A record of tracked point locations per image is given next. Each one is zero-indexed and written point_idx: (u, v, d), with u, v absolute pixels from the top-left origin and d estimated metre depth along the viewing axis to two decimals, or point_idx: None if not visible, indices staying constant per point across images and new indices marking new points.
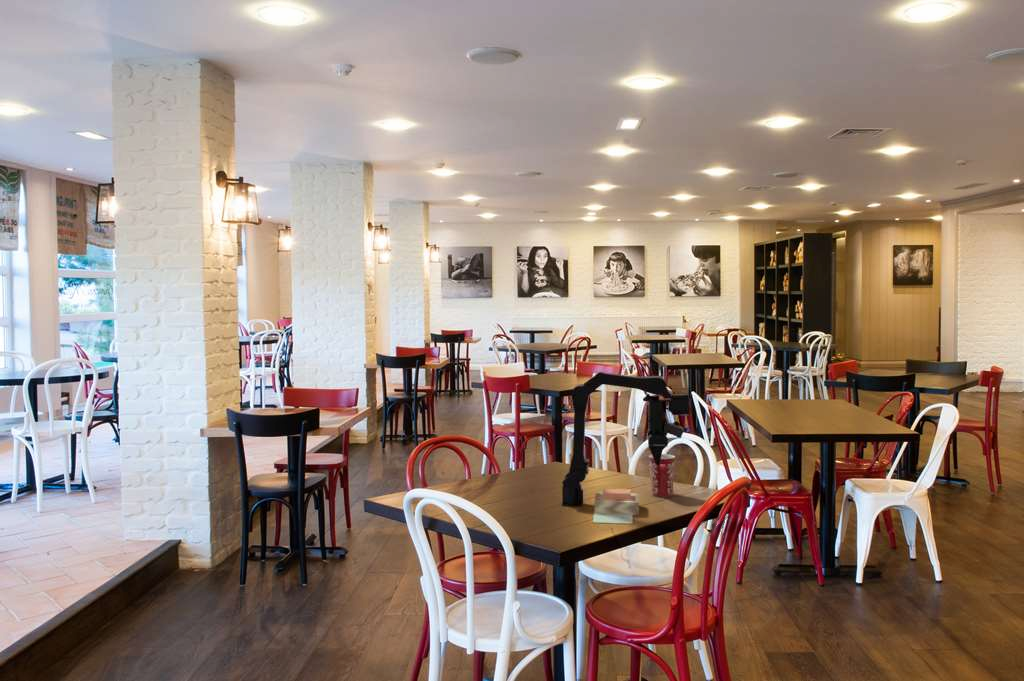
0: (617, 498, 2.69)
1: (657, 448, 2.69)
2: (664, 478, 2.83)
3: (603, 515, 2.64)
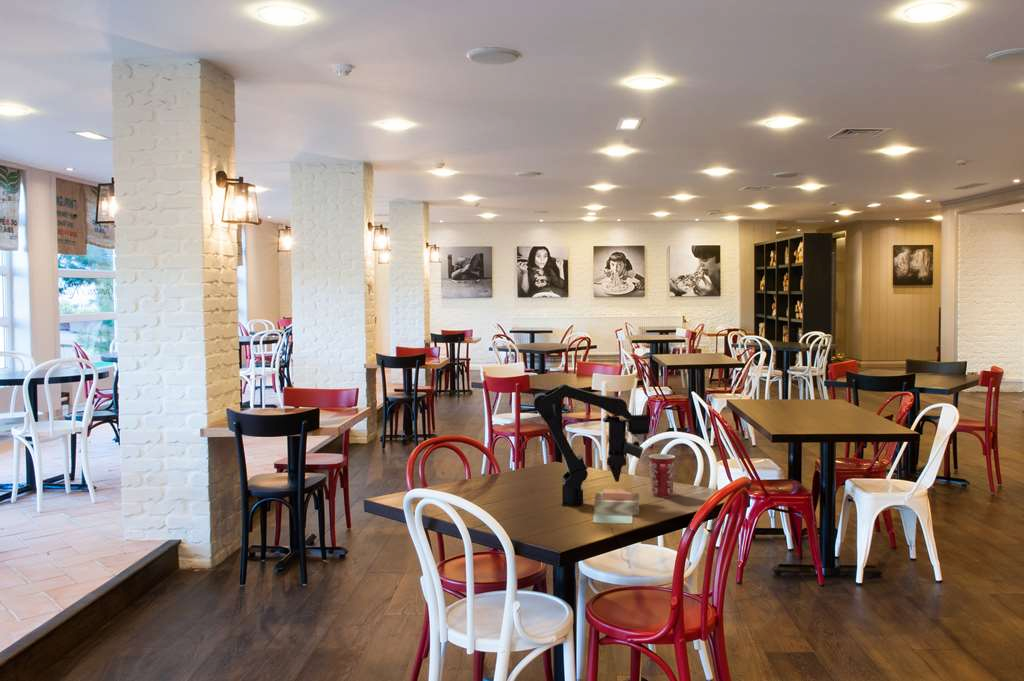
0: (617, 498, 2.69)
1: (616, 465, 2.79)
2: (664, 478, 2.83)
3: (603, 515, 2.64)
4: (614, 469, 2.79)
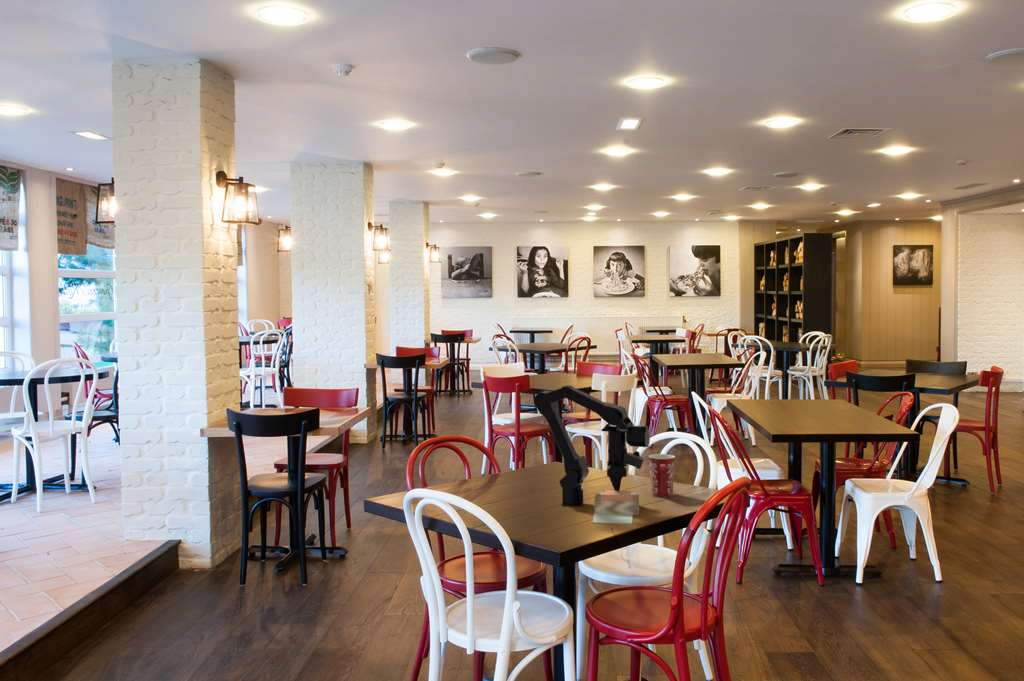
0: (617, 500, 2.67)
1: (616, 476, 2.72)
2: (664, 478, 2.83)
3: (603, 515, 2.64)
4: (614, 480, 2.72)
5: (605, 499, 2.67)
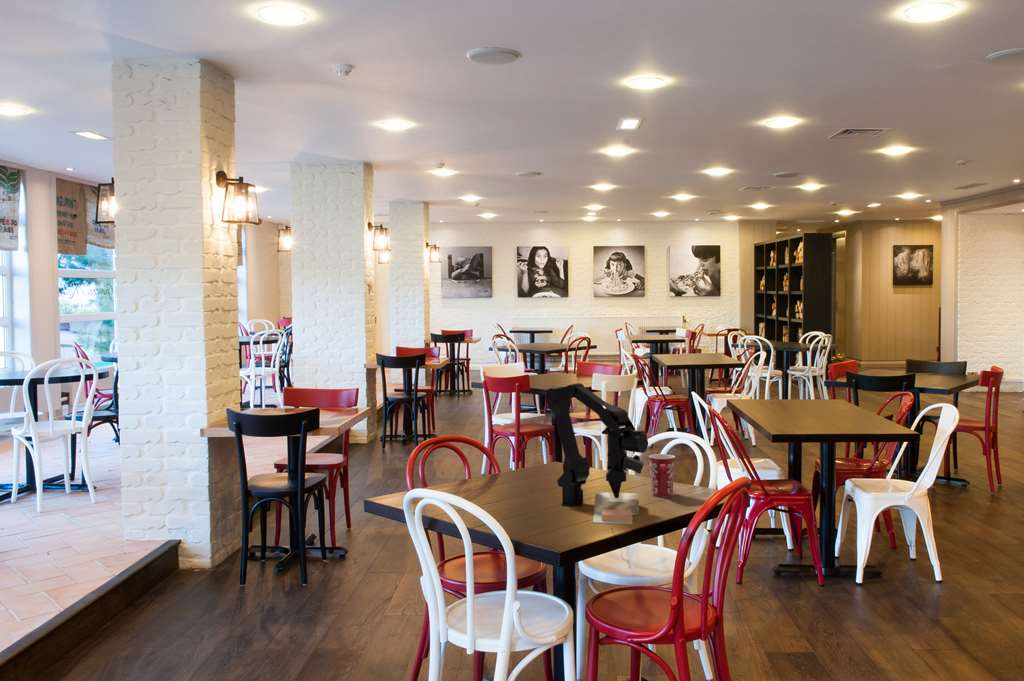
0: None
1: (616, 481, 2.65)
2: (664, 478, 2.83)
3: None
4: (613, 485, 2.65)
5: None
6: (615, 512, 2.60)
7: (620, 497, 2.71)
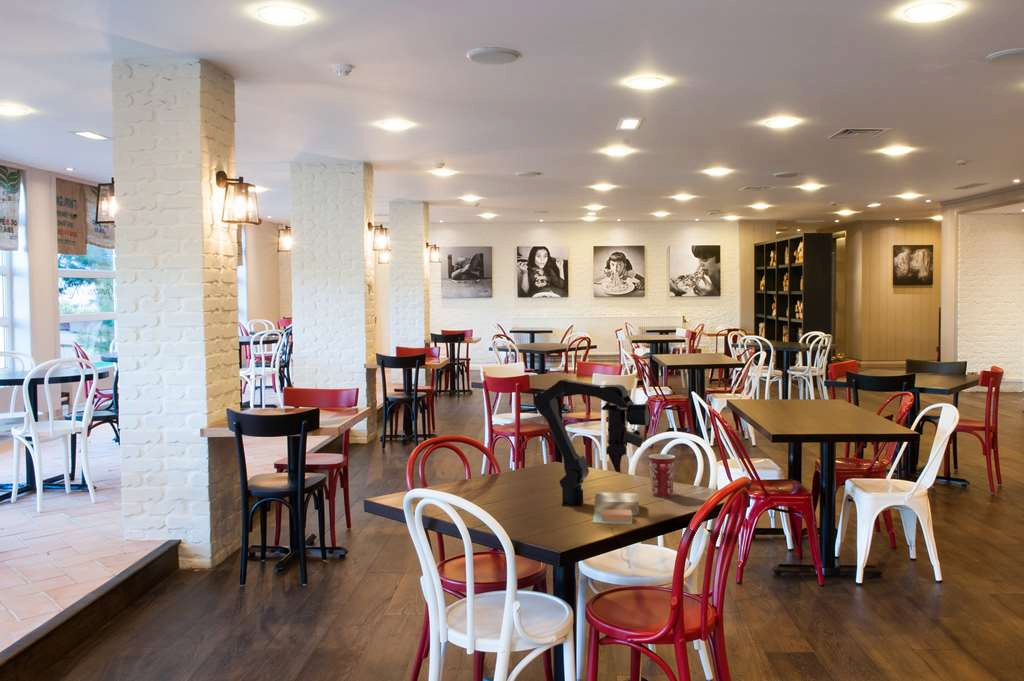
0: None
1: (616, 455, 2.71)
2: (664, 478, 2.83)
3: None
4: (614, 459, 2.71)
5: None
6: (615, 512, 2.60)
7: (620, 497, 2.71)
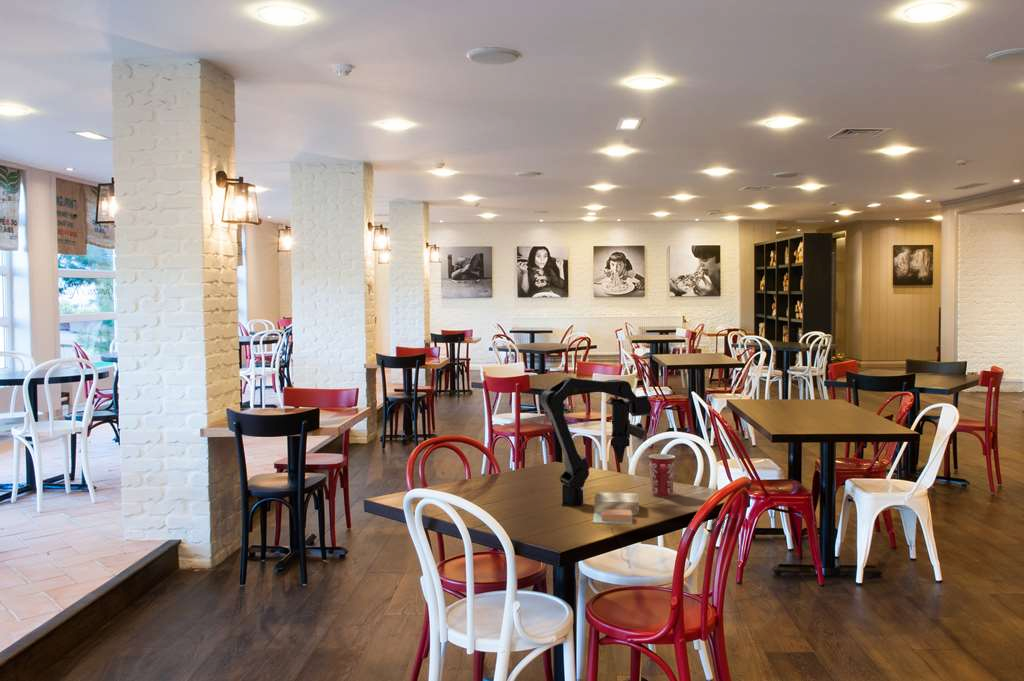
0: None
1: (620, 447, 2.83)
2: (664, 478, 2.83)
3: None
4: (618, 450, 2.83)
5: None
6: (615, 512, 2.60)
7: (620, 497, 2.71)
